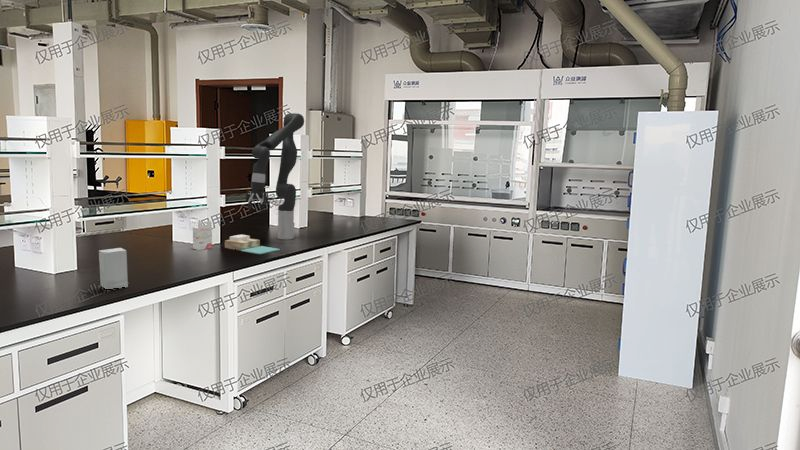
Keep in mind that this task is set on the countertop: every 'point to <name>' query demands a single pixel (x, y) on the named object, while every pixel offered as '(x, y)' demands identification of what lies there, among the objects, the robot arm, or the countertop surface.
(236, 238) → the slide case
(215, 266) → the countertop surface
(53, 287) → the countertop surface
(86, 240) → the countertop surface
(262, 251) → the mat
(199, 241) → the ink cartridge box
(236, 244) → the deck
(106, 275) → the skincare box
